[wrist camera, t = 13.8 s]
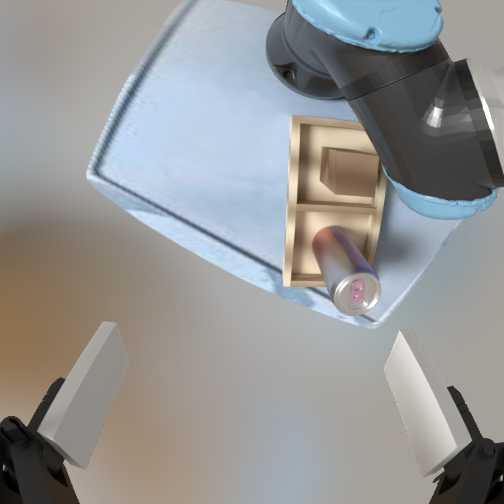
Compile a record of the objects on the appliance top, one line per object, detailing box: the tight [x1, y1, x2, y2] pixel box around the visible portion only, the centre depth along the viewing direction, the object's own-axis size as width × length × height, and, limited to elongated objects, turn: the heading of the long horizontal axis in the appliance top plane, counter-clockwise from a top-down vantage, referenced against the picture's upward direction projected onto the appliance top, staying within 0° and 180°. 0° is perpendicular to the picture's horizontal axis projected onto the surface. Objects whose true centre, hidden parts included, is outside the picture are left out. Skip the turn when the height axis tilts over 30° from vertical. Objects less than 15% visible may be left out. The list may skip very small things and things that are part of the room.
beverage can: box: [312, 226, 381, 316], centre depth 36 cm, size 6×6×15 cm
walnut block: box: [320, 147, 379, 198], centre depth 34 cm, size 5×5×9 cm
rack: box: [282, 116, 387, 287], centre depth 40 cm, size 25×14×3 cm, turn 179°
